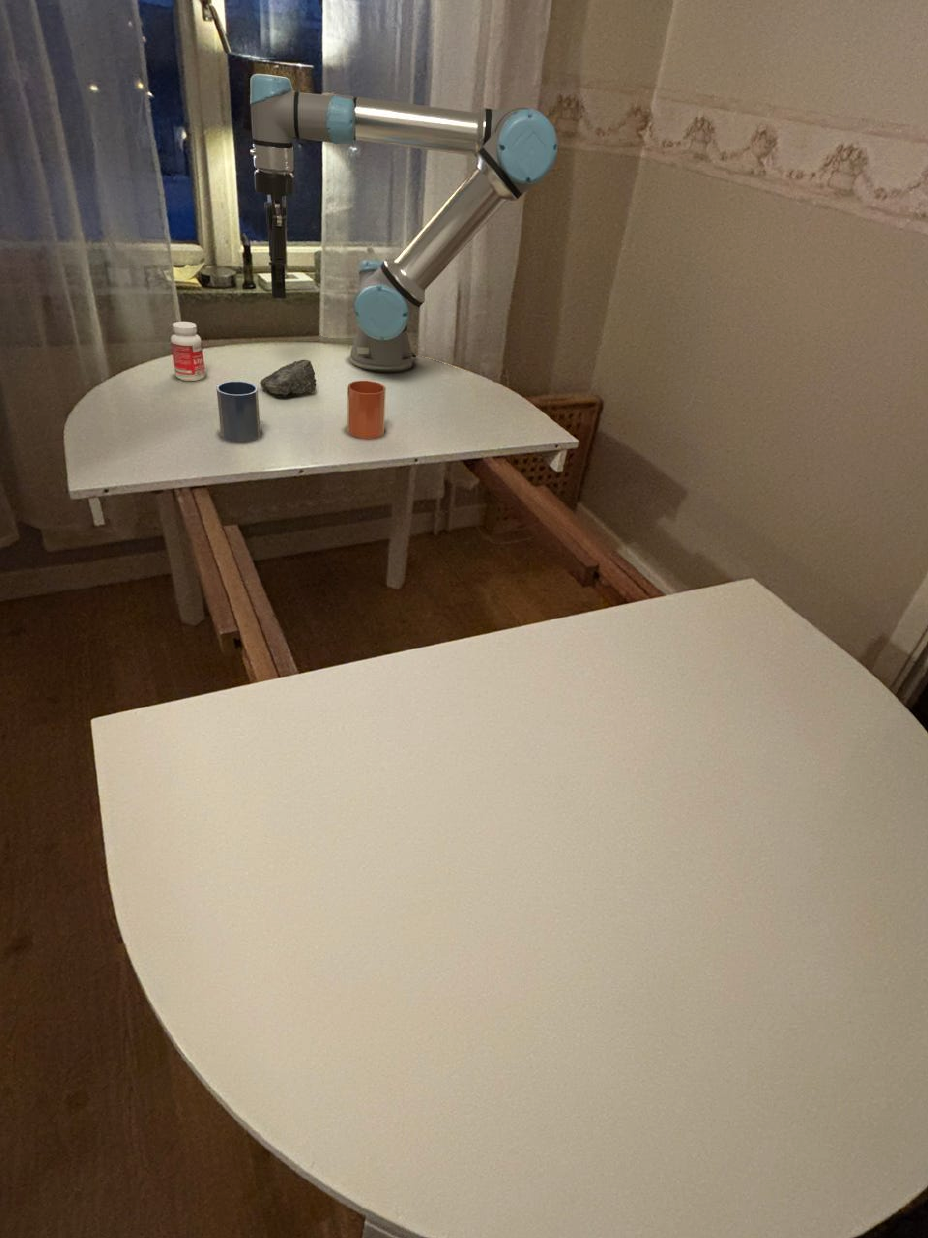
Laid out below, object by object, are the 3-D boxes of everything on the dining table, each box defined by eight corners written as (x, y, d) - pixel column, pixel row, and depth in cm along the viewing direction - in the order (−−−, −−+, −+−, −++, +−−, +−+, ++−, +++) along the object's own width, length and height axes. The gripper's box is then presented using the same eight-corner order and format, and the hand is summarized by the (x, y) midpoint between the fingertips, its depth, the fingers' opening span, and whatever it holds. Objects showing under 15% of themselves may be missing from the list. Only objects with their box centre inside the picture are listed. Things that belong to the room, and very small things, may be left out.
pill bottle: (199, 383, 159) (194, 330, 152) (171, 379, 159) (164, 326, 152) (209, 373, 164) (204, 322, 157) (181, 370, 164) (175, 318, 157)
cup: (258, 426, 144) (255, 381, 138) (262, 441, 138) (259, 394, 133) (219, 427, 141) (215, 381, 136) (222, 443, 136) (217, 395, 131)
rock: (257, 387, 160) (255, 360, 156) (303, 381, 166) (303, 354, 162) (275, 403, 155) (273, 375, 151) (322, 396, 160) (322, 369, 157)
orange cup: (379, 424, 151) (380, 380, 146) (387, 438, 146) (389, 393, 140) (344, 424, 149) (344, 380, 144) (351, 439, 144) (351, 394, 138)
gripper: (251, 164, 150) (257, 288, 164) (257, 174, 140) (264, 304, 154) (288, 167, 152) (292, 289, 166) (297, 177, 142) (301, 305, 156)
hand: (278, 296), depth 160 cm, fingers closed
